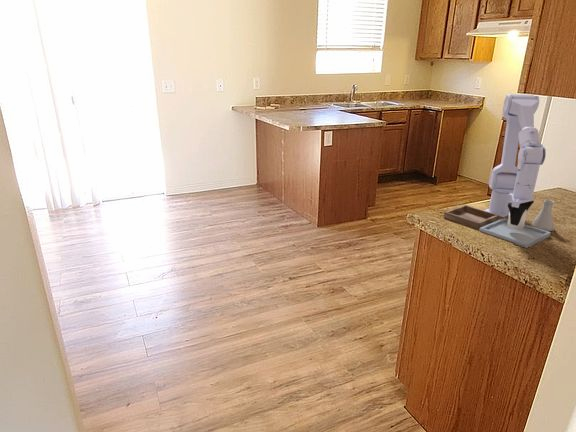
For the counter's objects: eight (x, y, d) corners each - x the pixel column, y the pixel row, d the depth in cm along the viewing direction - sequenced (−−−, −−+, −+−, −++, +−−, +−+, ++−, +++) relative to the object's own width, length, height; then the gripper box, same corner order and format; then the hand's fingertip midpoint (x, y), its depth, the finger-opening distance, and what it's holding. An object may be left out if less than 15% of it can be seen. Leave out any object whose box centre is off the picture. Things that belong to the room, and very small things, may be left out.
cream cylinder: (509, 222, 143) (512, 205, 141) (525, 225, 140) (528, 208, 138) (505, 226, 139) (508, 209, 137) (521, 229, 136) (524, 212, 134)
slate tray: (503, 221, 151) (503, 218, 151) (549, 236, 139) (550, 232, 139) (478, 231, 142) (479, 227, 142) (526, 248, 130) (527, 244, 130)
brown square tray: (464, 211, 161) (465, 204, 161) (498, 221, 151) (499, 215, 150) (443, 218, 154) (444, 212, 153) (477, 230, 144) (478, 223, 143)
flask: (557, 232, 142) (565, 205, 139) (534, 231, 144) (541, 203, 140) (549, 225, 149) (556, 198, 145) (527, 223, 150) (534, 197, 147)
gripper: (518, 176, 142) (510, 213, 147) (505, 185, 132) (496, 225, 137) (541, 180, 137) (532, 218, 142) (529, 190, 127) (520, 231, 132)
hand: (516, 222), depth 139 cm, fingers closed on cream cylinder, 5 cm apart
